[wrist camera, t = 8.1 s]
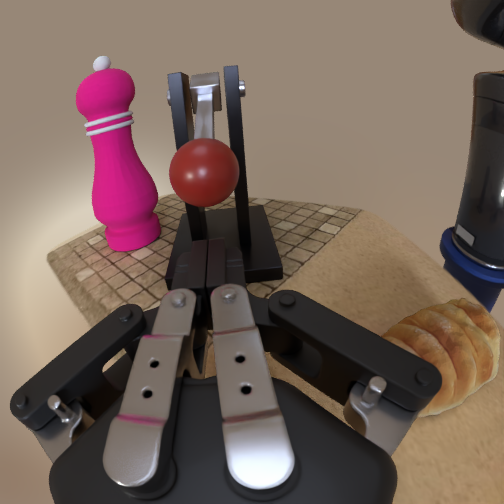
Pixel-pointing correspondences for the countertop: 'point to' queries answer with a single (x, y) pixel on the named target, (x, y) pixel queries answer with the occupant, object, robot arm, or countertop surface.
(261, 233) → the bracket
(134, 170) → the pepper mill
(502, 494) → the countertop surface
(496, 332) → the pastry
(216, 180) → the lever
